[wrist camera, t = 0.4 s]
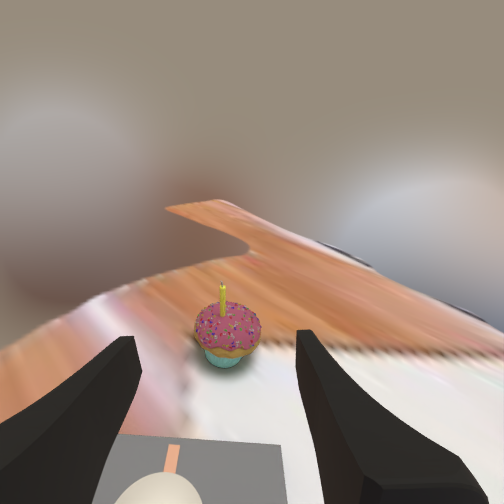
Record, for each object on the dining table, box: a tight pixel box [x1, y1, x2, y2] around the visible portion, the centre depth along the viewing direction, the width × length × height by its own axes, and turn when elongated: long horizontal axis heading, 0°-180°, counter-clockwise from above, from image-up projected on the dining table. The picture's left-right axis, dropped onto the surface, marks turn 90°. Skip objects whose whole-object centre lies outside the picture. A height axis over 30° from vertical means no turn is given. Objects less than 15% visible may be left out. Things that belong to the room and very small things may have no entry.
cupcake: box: [194, 281, 262, 368], centre depth 35 cm, size 9×8×12 cm
